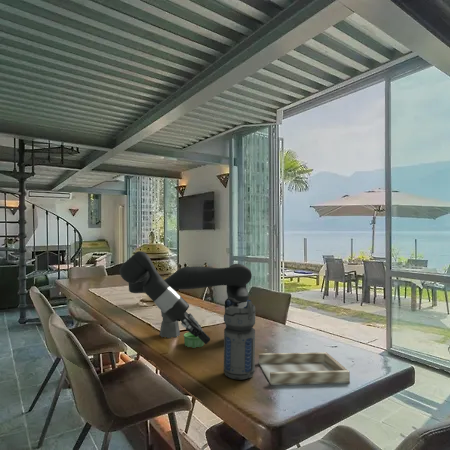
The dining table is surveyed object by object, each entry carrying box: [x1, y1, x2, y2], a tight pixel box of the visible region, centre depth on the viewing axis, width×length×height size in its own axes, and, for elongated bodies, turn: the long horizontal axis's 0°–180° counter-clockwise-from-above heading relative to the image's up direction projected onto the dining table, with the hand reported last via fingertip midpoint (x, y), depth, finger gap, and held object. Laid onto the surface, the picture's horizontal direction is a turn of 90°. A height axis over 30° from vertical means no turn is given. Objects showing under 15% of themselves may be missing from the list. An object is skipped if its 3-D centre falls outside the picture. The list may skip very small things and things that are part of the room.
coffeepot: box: [159, 310, 181, 339], centre depth 157 cm, size 15×9×18 cm, turn 49°
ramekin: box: [183, 331, 205, 349], centre depth 144 cm, size 9×9×4 cm
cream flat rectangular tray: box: [258, 351, 351, 386], centre depth 116 cm, size 25×18×4 cm
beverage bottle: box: [223, 297, 256, 381], centre depth 115 cm, size 10×13×25 cm
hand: (208, 341), depth 113 cm, fingers closed
